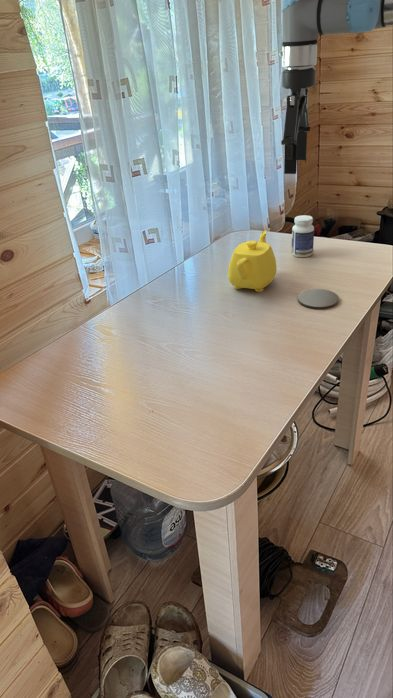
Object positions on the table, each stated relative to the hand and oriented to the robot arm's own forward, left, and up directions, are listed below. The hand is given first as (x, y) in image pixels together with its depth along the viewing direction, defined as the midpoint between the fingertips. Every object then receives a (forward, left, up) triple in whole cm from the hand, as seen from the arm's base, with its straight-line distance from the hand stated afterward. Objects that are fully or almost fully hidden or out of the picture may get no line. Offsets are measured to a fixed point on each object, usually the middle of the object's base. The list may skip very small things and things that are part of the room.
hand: (295, 166), depth 125 cm
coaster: (-10, +24, -23) cm, 35 cm away
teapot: (+6, +18, -24) cm, 30 cm away
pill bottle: (-2, -2, -24) cm, 24 cm away
